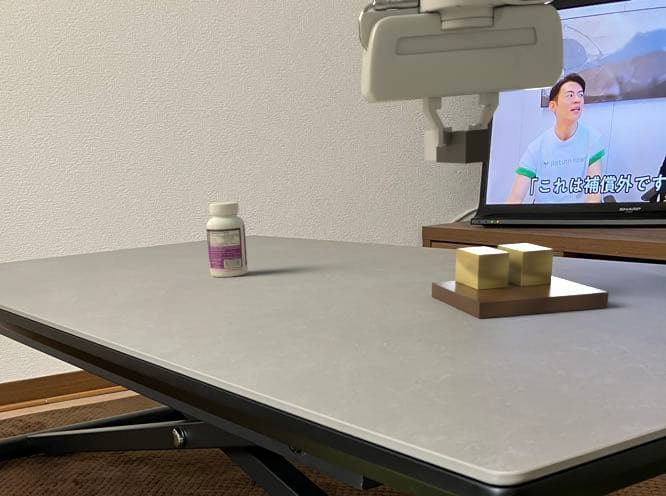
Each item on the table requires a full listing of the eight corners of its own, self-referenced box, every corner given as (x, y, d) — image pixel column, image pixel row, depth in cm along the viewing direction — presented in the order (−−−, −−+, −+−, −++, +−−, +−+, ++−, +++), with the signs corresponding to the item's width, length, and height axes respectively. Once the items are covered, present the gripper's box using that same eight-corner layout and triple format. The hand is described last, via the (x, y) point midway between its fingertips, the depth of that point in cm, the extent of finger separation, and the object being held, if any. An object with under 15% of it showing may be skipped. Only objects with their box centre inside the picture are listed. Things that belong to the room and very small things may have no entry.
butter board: (543, 287, 102) (546, 241, 100) (607, 307, 88) (612, 254, 86) (431, 296, 100) (432, 249, 98) (478, 318, 87) (481, 264, 85)
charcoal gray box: (488, 161, 90) (489, 126, 89) (465, 163, 90) (465, 128, 88) (436, 159, 106) (436, 130, 105) (416, 161, 106) (415, 131, 105)
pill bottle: (220, 272, 131) (214, 201, 128) (253, 272, 129) (249, 200, 126) (203, 277, 127) (197, 204, 123) (238, 277, 125) (233, 203, 121)
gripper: (365, -6, 85) (369, 153, 90) (574, -22, 86) (566, 135, 92) (351, 4, 91) (356, 153, 96) (547, -11, 92) (541, 136, 98)
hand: (460, 144), depth 94 cm, fingers closed on charcoal gray box, 2 cm apart
